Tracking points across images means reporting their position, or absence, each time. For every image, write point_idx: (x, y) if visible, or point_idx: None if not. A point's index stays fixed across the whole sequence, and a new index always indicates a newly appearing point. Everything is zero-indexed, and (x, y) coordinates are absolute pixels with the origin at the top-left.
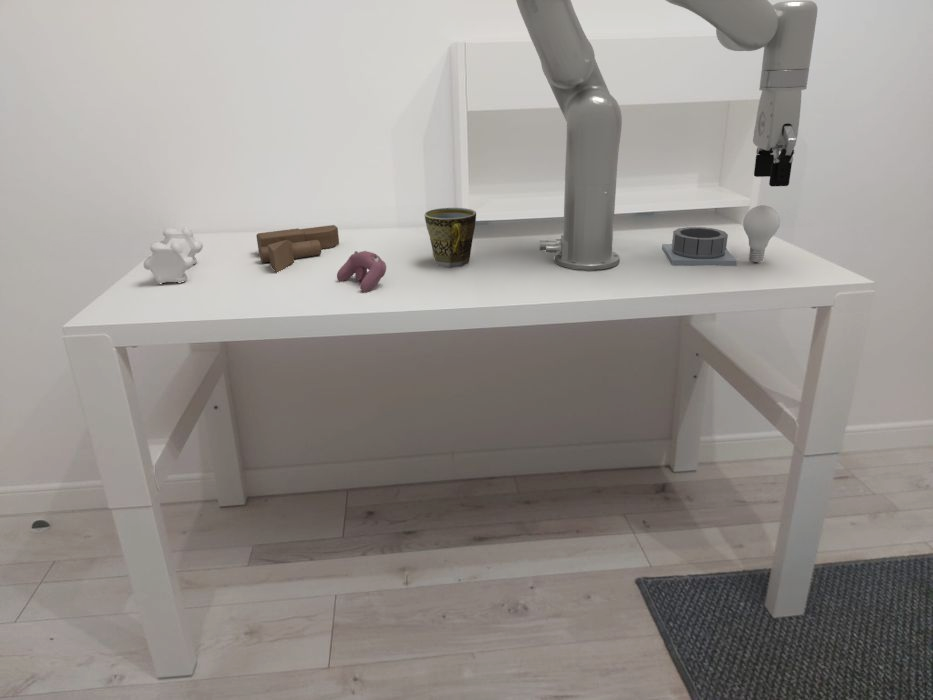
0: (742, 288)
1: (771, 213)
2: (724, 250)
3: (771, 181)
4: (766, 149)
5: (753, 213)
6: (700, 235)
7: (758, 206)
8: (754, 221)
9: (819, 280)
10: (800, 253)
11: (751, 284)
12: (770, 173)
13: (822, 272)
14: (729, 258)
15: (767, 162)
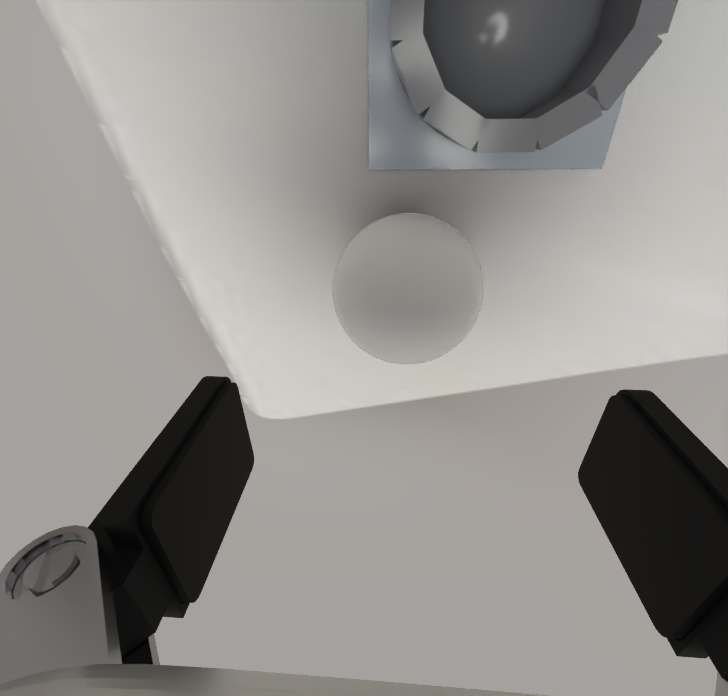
0: (127, 123)
1: (352, 332)
2: (445, 136)
3: (193, 397)
4: (20, 686)
5: (373, 259)
6: (614, 32)
7: (413, 300)
8: (349, 250)
9: (258, 347)
10: (490, 381)
11: (177, 165)
12: (588, 484)
13: (324, 373)
14: (397, 147)
15: (644, 543)
